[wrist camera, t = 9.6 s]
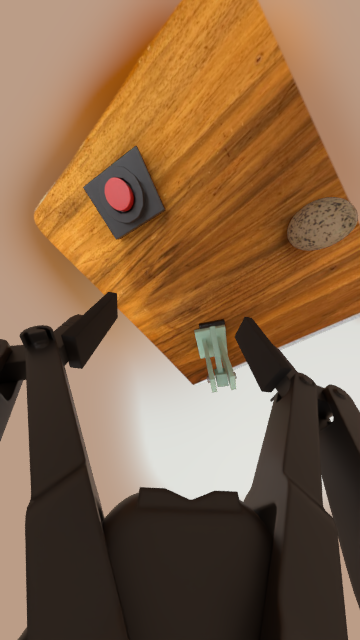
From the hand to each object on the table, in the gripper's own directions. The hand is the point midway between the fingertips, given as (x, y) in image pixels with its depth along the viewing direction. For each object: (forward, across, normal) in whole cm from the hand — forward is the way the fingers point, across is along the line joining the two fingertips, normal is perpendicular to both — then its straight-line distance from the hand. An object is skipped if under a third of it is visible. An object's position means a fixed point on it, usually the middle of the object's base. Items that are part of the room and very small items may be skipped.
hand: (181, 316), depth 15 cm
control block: (+20, -11, +10) cm, 24 cm away
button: (+16, -11, +10) cm, 22 cm away
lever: (+10, +11, -13) cm, 20 cm away
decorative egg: (+20, +20, +12) cm, 30 cm away
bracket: (+19, +12, -18) cm, 29 cm away
